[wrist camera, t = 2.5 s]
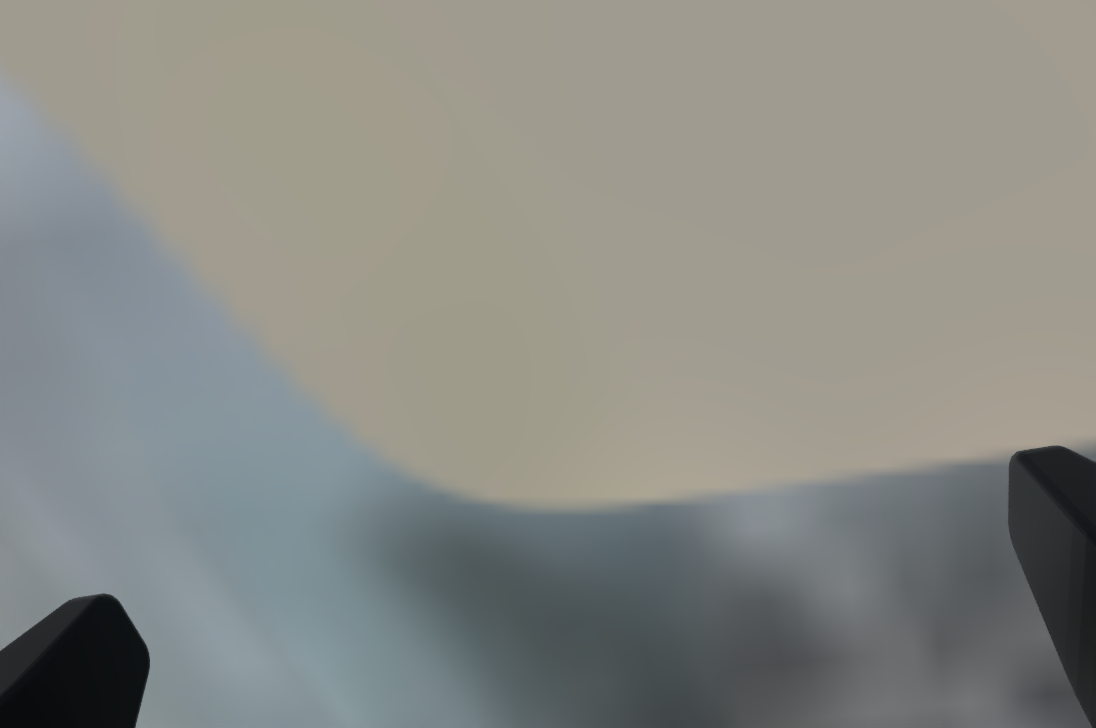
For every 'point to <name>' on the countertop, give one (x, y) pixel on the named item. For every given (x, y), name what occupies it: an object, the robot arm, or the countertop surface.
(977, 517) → the countertop surface
